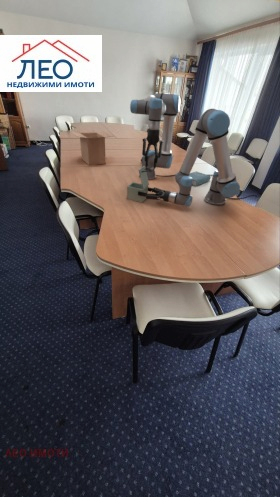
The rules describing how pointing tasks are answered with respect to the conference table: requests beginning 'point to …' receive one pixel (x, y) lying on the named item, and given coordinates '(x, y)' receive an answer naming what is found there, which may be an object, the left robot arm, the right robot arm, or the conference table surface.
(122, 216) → the conference table surface
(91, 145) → the box
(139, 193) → the right robot arm
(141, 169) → the lid
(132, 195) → the chest
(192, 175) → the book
